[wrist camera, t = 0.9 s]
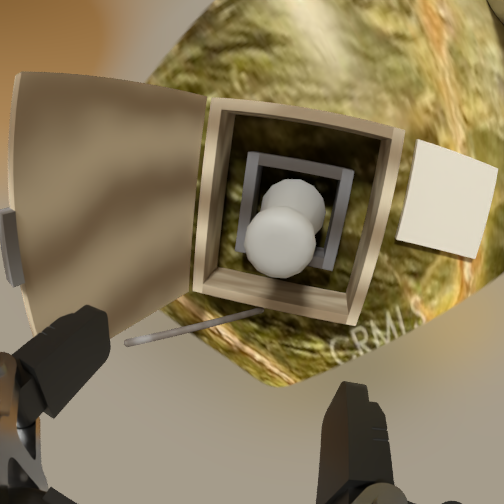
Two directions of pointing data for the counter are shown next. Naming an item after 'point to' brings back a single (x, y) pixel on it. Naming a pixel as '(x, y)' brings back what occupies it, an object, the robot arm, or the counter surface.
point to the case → (212, 204)
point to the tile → (446, 200)
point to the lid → (99, 195)
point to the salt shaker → (285, 229)
